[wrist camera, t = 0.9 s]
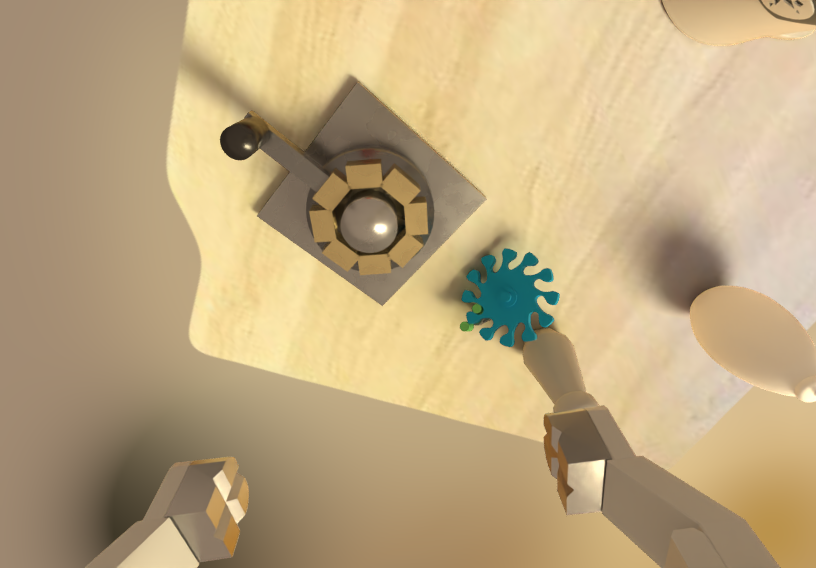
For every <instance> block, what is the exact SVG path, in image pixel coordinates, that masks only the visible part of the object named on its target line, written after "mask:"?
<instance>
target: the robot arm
mask: <svg viewBox="0 0 816 568" xmlns="http://www.w3.org/2000/svg"><path fill="white" fill-rule="evenodd" d="M662 2H663V5H664V7H665V10H666V12H667V14H668V16H669V17H670V19H671V20H672V22H673V23H674V24H675V26H676V27H677V28H678V29H679V30H680V31H681V32H683V33H684V34H685V35H686V36H688V37H689V38H691V39H693V40H695V41H698V42H700V43H703V44H708V45H714V46H728V45H735V44H740V43H744V42H747V41H751V40H755V39H759V38H763V37H771V38H777V39H784V40H792V39H799V38H804V37H807V36H809V35H810V34H812V33H813V32H814V31H815V30H816V0H662ZM544 427H545V430H546V432H547V434H546V435H545V436H544V449H545V454H546V460H547V463H548V467H549V470H550V472H551V475H552V476H553V477H555V478H556V479H557V491H558V493H559V497H560V499H561V501H562V504H563V507H564V509H565V512H566V515H572V514H583V513H593V512H602V514H603V515H604V516H605V517H606V518H608V519H609V520H610V521H611V522H612V523H613V524H614V525H615V526H616V527H617V528H618V529H620V530H621V531H622V532H623V533H624V534H625V535H626V536H627V537H628V538H629V539H630V540H632V541H633V542H634V543H635V544H636V545H637V546H638V547H639V548H640V549H641V550H643V551H644V552H645V553H646V554H647V555H648V556H649V557H650V558H651V559H652V560H653V561H655V562H656V563H657V564H658V565H659V566H660V567H661V568H780V567H779V565H778V564H777V562H776V561H775V560H774V558H773V557H772V555H771V554H770V553H769V551H768V550H767V549H766V547H765V546H764V545H763V544H762V542H761V541H760V539H759V538H758V537H757V535H756V534H755V533H754V531H753V530H752V528H751V527H750V526H749V524H748V523H747V522H746V520H744V519H743V518H741V517H740V516H738V515H737V514H735V513H733V512H732V511H730V510H728V509H727V508H725V507H724V506H722V505H720V504H719V503H717V502H716V501H714V500H712V499H711V498H709V497H708V496H706V495H704V494H703V493H701V492H700V491H698V490H696V489H695V488H693V487H692V486H690V485H688V484H687V483H685V482H684V481H682V480H681V479H679V478H677V477H676V476H674V475H672V474H671V473H669V472H668V471H666V470H665V469H663V468H661V467H660V466H658V465H657V464H655V463H653V462H652V461H650V460H649V459H647V458H645V457H644V456H636V455H635V453H634V452H633V450H632V448H631V447H630V445H629V443H628V442H627V440H626V438H625V437H624V435H623V433H622V432H621V430H620V428H619V427H618V425H617V423H616V422H615V420H614V418H613V417H612V415H611V413H610V412H609V410H608V408H607V407H605V406H604V405H603V406H596V407H589V408H584V409H582V408H581V409H574V410H568V411H561V412H554V413H547V414H545V415H544ZM238 466H239V465H238V463H237V461H236V460H235V458H234V457H223V458H214V459H204V460H196V461H189V462H180V463H175V464H174V465H173V466H172V467H170V469H169V471H168V473H167V475H166V477H165V478H164V480H163V482H162V484H161V486H160V488H159V490H158V492H157V494H156V496H155V498H154V500H153V502H152V504H151V505H150V508H149V509H148V511H147V513H146V515H145V517H144V519H143V521H138V522H136V523H135V524H134V525H132V526H131V527H130V528H129V529H128V530H127V531H126V532H124V533H123V534H122V535H121V536H120V537H119V538H118V539H116V540H115V541H114V542H113V543H112V544H111V545H110V546H108V547H107V548H106V549H105V550H104V551H103V552H102V553H101V554H99V555H98V556H97V557H96V558H95V559H94V560H93V561H91V562H90V563H89V564H88V565H87V566H86V567H85V568H196V567H198V565H199V563H198V562H204V561H210V560H217V559H223V558H230V557H232V556H233V553H234V549H235V547H236V543H237V540H238V537H239V534H240V530H239V528H238V525H237V523H238V522H239V521H240V520H241V519H242V518H243V517H244V515H245V514H246V510H247V507H248V499H249V490H248V484H247V482H246V480H245V477H243V476H242V475H240V474H238V473H237V469H238Z"/></svg>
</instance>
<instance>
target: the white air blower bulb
mask: <svg viewBox="0 0 816 568" xmlns="http://www.w3.org/2000/svg"><path fill="white" fill-rule="evenodd" d="M690 321H691V327H692V330H693V332H694V335H695V337H696V339H697V341H698V342H699V344H700V345H701V347H702V348H703V349H704V350H705V351H706V353H707V354H708V355H709V356H710V357H711V358H712V359H713V360H714V361H715V362H716V363H718V364H719V365H720V366H721V367H723V368H724V369H726V370H727V371H729V372H730V373H732V374H733V375H735V376H737V377H738V378H740V379H742V380H744V381H746V382H748V383H750V384H752V385H754V386H757V387H759V388H762V389H765V390H768V391H771V392H774V393H778V394H782V395H787V396H796V397H797V398H798V399H800V400H801V401H804V402H815V401H816V346H815V344H814V342H813V341H812V339H811V338H810V336H809V335H808V333H807V332H806V330H805V329H804V327H803V326H802V325H801V324H800V322H799V321H798V320H797V319H796V318H795V317H794V316H793V315H792V314H791V313H790V312H789V311H788V310H786V309H785V308H784V307H783V306H781V305H780V304H778V303H777V302H776V301H774V300H773V299H771V298H769V297H768V296H766V295H764V294H762V293H759V292H757V291H754V290H751V289H748V288H744V287H738V286H717V287H713V288H710V289H708V290H706V291H704V292H702V293H701V294H700V295H698V296H697V297H696V298H695V300H694V301H693V303H692V305H691V308H690Z"/></svg>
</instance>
